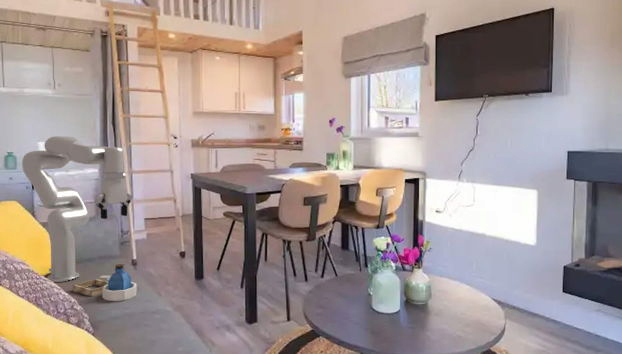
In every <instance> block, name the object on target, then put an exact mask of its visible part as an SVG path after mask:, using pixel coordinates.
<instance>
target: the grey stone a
mask: <svg viewBox="0 0 622 354" xmlns="http://www.w3.org/2000/svg"><path fill="white" fill-rule="evenodd" d="M111 276H112V275H103V274H102V275H101V276H99V277H98V279H99V280H109V279H110V278H111Z"/></svg>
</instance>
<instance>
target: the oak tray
mask: <svg viewBox="0 0 622 354" xmlns="http://www.w3.org/2000/svg"><path fill="white" fill-rule="evenodd" d="M94 284H97V285H100V286H99V287H97V288H92V289H91V288H90V287H88V286H91V285H94ZM97 285H96V286H97ZM105 285H108V282H107V281H103V280H99V278H94V279H90V280H86V281H83V282H80V283H76V284H73V285H72V291H73V292H75V293H79V294H82V295H86V296H89V297H95V296H98V295H101V294H100V293H102V294H103V288H104V286H105ZM94 286H95V285H94ZM101 286H103V287H101ZM86 287H87V288H86ZM91 287H92V286H91ZM97 294H98V295H97ZM94 295H95V296H94Z"/></svg>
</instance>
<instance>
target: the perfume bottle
mask: <svg viewBox="0 0 622 354" xmlns="http://www.w3.org/2000/svg"><path fill="white" fill-rule="evenodd" d="M114 266H115V268H114V271H115V272H114V273H113V274H111V275H110V276H111V278H110V279H109V281H108V290H111V291H117V290H126V289H129V288H131V282H132V278H131V276H130V275H129V273H128V272H127V271H125V267H124V264H122V263H118V264H115V265H114Z"/></svg>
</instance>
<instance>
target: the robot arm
mask: <svg viewBox="0 0 622 354" xmlns="http://www.w3.org/2000/svg"><path fill="white" fill-rule="evenodd" d="M44 149H45V150H33V151H28V152H27V153H26V154H24V155H23V157H22V159H21V160H22V161H21V163H22V164H21V166H22V167H21V168H22V171H23V173H24V175H25V177H26V178H27V179H28V181H29V182H30V183H31V185H32V186H33V188H34V190H35V192H36V194H37V196H38V197H39V200H40V202H41V204H42V206H43V207H44V208H45V209H47V210H52V211H50V213H49V214H48V215H47V219H46V221H47V225H48V229H49V236H50V237H49V238H50V268H48V271H49V272H50V274H49V275H48V276H47V278H48V279H50V280H52V281H53V283H60V282H61V283H62V282H69V281H68V280H70V281H73V280H72V279H74V280H76V279H78V278H79V277H80V273H79V272H77V271H76V239H75V235H74V234H73V232H72V231H71V229H75V228H81V227H83V226H86V225H87V224H88V223H89V221H90V215H89V211H88V209H87V207H86V205H85V203H84V201H83V199H82V198H81V197H82V196H81V195H80V193H79V192H78V191H77V190H76V189H75V188H74V187H70V186H64V187H60V186H58V185H57V183H56V182H55V181H56V180H55V179H54V178H53V176H51V175H50V174H49V173H48V172H47V171H46V170H53V169H55V170H56V169H57V170H58V169H62V168H64V167H65V166H66V165H68V164H69V163H70V161H72V162H73V163H78V164H82V165H103V180H102V181H101V184H100V191H99V192H100V193H99V196H98V197H96V198H94V202H95V204H96V206H97V208H98V209H99V210H100V219H101V220H102V219H103V220H106V219H108V209H107V208H108V206H109V205H115V204H116V205H117V204H120V205H121V206H120V216H121V217H122V216H124V217H127V216H128V207H129V205H130V203H131V201H132V199H133V195H132V194H130V193H128V192H127V191H128V190H127V185H126V184H127V183H126V181H125V178H124V177H126V173H125V171H124V168H125V166H124V163H125V162H124V159H125V158H124V157H125V156H124V149H123V148H122V147H118V146H114V147H113V146H100V145H99V146H98V145H96V146H93V145H91V146H89V145H84V144H83V142H81V141H80V140H78V139H77V138H76V137H73V136H58V135H57V136H51V137H49V138H47V139H46V141H45V142H44ZM77 277H78V278H77ZM47 278H46V279H47ZM75 278H76V279H75Z"/></svg>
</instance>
